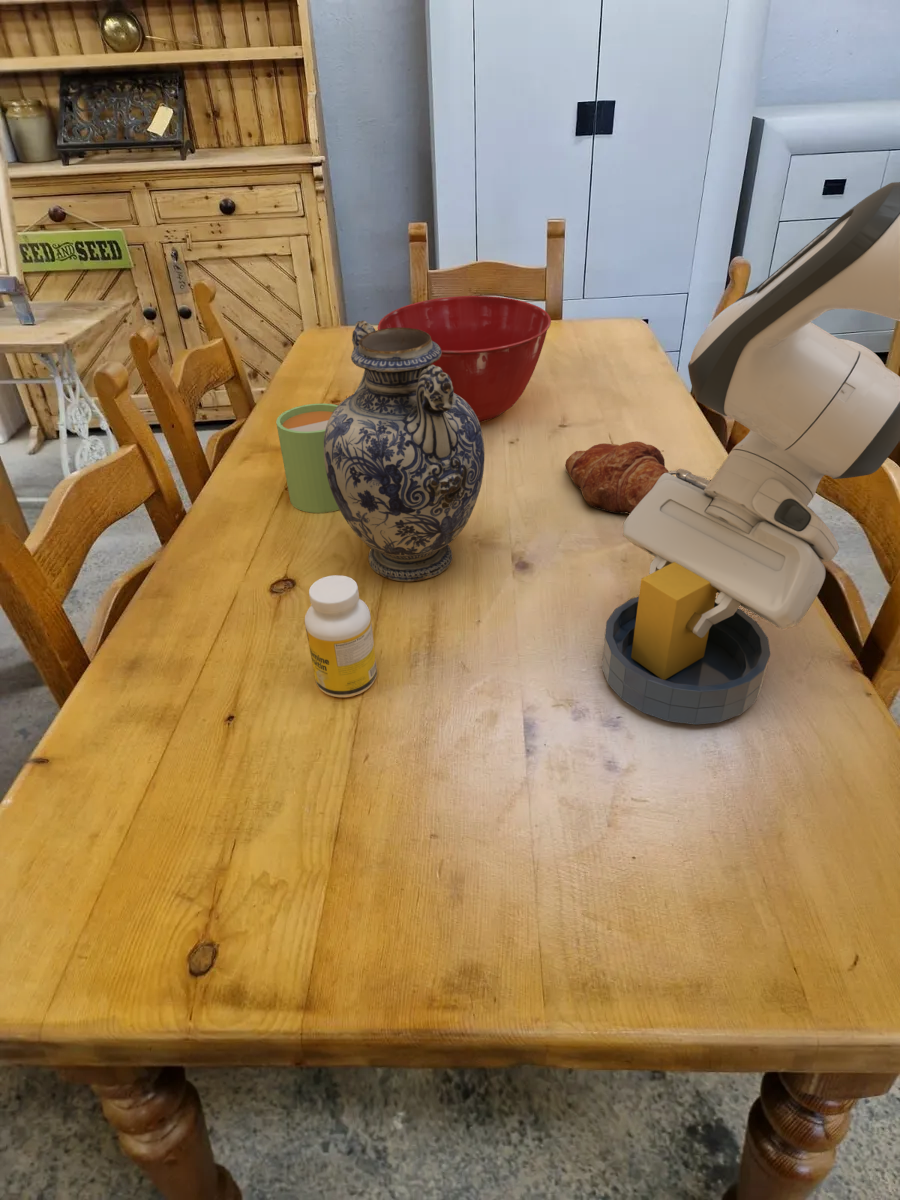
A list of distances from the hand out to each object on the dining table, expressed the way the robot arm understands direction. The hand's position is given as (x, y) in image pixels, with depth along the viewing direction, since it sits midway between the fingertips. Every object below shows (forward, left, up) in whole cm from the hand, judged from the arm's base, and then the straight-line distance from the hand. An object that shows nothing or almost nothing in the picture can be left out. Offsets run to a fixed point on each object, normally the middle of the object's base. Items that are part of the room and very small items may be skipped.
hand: (670, 618), depth 78 cm
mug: (+45, +37, -7) cm, 58 cm away
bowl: (-1, -1, -6) cm, 7 cm away
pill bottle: (+3, +33, -7) cm, 33 cm away
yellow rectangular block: (0, -1, -5) cm, 5 cm away
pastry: (+37, -5, -7) cm, 38 cm away
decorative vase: (+25, +25, -7) cm, 36 cm away
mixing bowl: (+72, +13, -7) cm, 73 cm away
